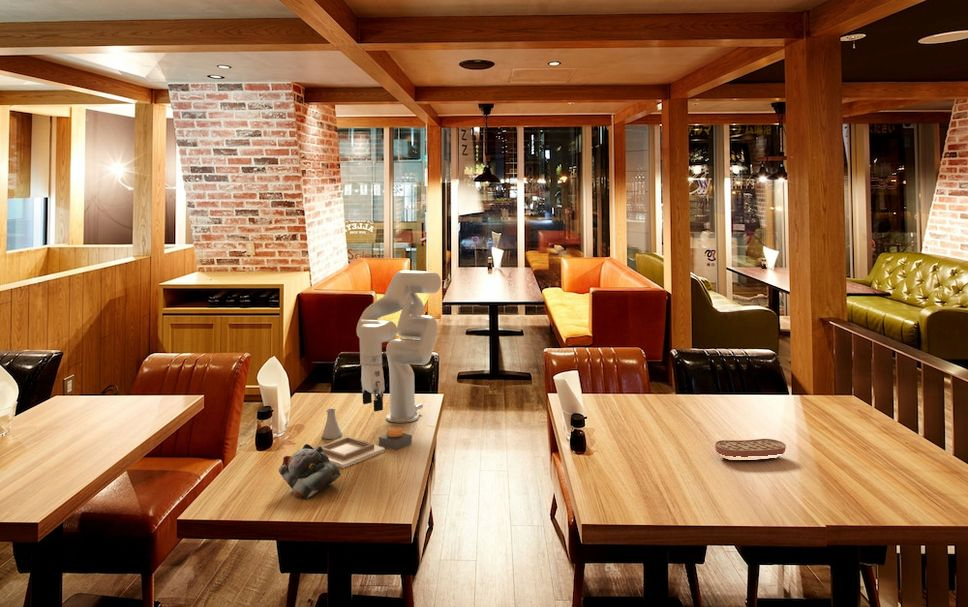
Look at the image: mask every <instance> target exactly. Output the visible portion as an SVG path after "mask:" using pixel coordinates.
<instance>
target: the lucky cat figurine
mask: <svg viewBox="0 0 968 607" xmlns="http://www.w3.org/2000/svg"><path fill="white" fill-rule="evenodd" d="M321 446H322V445H317V446H315V448H314V447H313V446H311V445H310V444H308V443H305V444H304V445H303V446H302V448H301V449H298V450H297V451H296V452H294V453H293V454H292V455H284V456H283V460H282V464H281V466H280V467H279V468H278V473H279V474H280V476H281V477H282V479H283V480H284V481H285V482H286V483H287V485H288V486H289V487H290V489H291V490H292V492H293V494H294V496H295V498H297V499H301V500H307V499H309V498H310V497H312V496H314V495H315V494H317V493H318V492H320V491H321V490H322V489H324V488H326V487H328V486H329V485H331V484H332V483H334V482H335V481H336V480H338V479H339V478H340V477H341V476H342V475H341V470H340V467H338V466H336V465H335V464H333V463H330V461H329V459H328V457H327V455H326V454H325V453H324V451H323V449H322V447H321Z"/></svg>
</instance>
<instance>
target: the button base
mask: <svg viewBox="0 0 968 607" xmlns="http://www.w3.org/2000/svg"><path fill="white" fill-rule="evenodd" d="M412 438H413V436H412V434H410V433H409V434H408V433H405V432H404V435H402V436H400V437H396V438H394V437H389V436H387V435H386V433H385V434H382V435H380V436H378V446H380V445H381V446H380V447H383V446H384V447H383V448H387V449H390V448H391V449H390V450H393V449H394V450H393V451H397V450H399V448H400V449H402V448H404V447H406V446H409V445H412V442H413V439H412Z"/></svg>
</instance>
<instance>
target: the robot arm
mask: <svg viewBox="0 0 968 607" xmlns="http://www.w3.org/2000/svg"><path fill="white" fill-rule="evenodd" d="M441 285H442V279H441V277H440V275H439V273H437V272H435V271H424V270H399V271H397V272H395V273H394V275H393V276H392V278H391V281H390V282H389V284H388V287H387V289H386V291H385V293H384V295H383V296H382V297H381V298H378V299H377V300H376V301H374V302H373V303H371V304H369V306H367V307H366V308H365V309H364V311H363V312H362V314H361V316H360V318H359V320H358V322H357V325H356V336H357V337H358V338H359V360H360V365H361V378H360V383H361V388H362V389H361V392H362V393H361V394H362V404H363V405H368V404H371V403H373V411H374V412H380V411H381V412H382V411H383V410H384V392H385V389H386V388H385V378H384V376H385V375H384V369H383V365H382V364H383V343H387V345H386V348H385V350H386V357H387V359H386V360H387V362H388V363H387V364H388V369H389V370H388V373H389V374H388V376H389V403H390V406H389V411H390V412H389V413H388V414H386V417H385V418H386V420H387V421H388V422H390V423H395V424H404V423H412V422H414V421H417V420H419V418H420V416H419V415H420V414H419V413H418V410H420V409H423V407H424V406H423V404H422V403H417V404H415V402H416V401H415V400H416V399H415V372H414V370H413V368H412V366H411V365H420V366H423V365H427V364H428V363H430V360H431V358H432V353H433V350H434V346H435V343H436V339H437V334H438V322H437V319H436V318H435V317H434V316H432V315H428V314H427V315H425V314H424V311H425V305H424V303H423V301H422V300H421V298H420V297H419V296H418V294H429V295H430V294H436V293H438V291H440V289H441ZM400 311H401V312H400ZM398 312H400V315H399V317H398V318H399V319H398V322H397V324H396V323H394V322H393V321H391V320H385V319H380V318H383V317H385V316H389V315H393V314H395V313H398ZM397 335H398V336H399V337H400V338H396V336H397ZM372 396H373V399H372Z"/></svg>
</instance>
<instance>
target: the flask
mask: <svg viewBox="0 0 968 607" xmlns="http://www.w3.org/2000/svg"><path fill="white" fill-rule="evenodd" d="M326 413H327V414H326V416H327V418H326V423H325V427H324V428H323V429H324V430H323V433H322V435H321V439H325V440H338V439H340V438H341V437H342V436H343V432H342V430H341V428H340V425H339V422H338V420H337V417H336V408H334V407H332V408H328V409H326Z"/></svg>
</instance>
